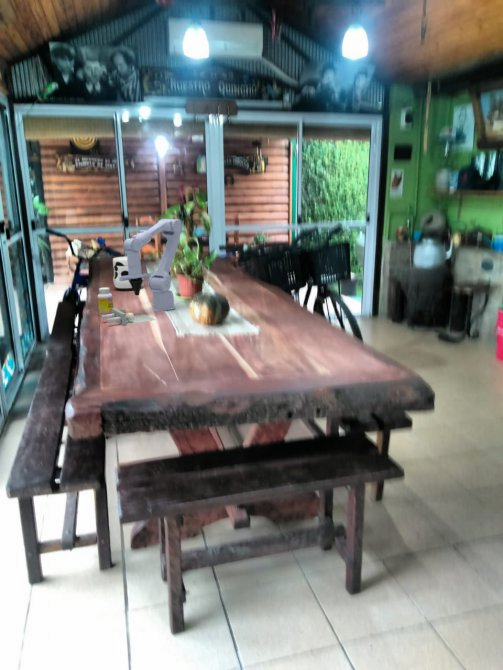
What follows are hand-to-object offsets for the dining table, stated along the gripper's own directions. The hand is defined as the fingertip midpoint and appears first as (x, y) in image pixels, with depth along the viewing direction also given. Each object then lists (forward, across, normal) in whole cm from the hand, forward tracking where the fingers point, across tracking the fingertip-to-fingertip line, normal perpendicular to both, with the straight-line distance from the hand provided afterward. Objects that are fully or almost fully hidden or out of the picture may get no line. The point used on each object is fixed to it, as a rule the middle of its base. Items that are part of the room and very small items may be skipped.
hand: (137, 294), depth 239 cm
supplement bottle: (+10, -12, +11) cm, 19 cm away
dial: (+9, -8, -7) cm, 14 cm away
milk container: (+10, +20, +67) cm, 71 cm away
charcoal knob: (+9, -13, -3) cm, 16 cm away
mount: (+10, -5, -7) cm, 13 cm away
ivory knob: (+9, -13, -11) cm, 19 cm away
